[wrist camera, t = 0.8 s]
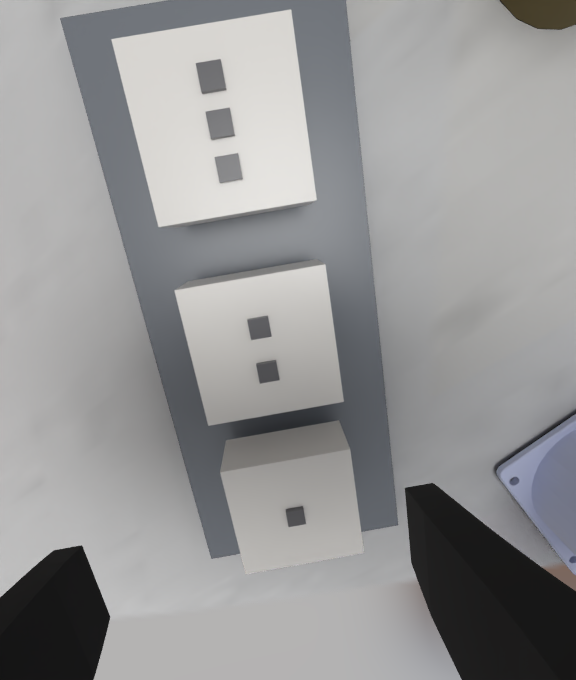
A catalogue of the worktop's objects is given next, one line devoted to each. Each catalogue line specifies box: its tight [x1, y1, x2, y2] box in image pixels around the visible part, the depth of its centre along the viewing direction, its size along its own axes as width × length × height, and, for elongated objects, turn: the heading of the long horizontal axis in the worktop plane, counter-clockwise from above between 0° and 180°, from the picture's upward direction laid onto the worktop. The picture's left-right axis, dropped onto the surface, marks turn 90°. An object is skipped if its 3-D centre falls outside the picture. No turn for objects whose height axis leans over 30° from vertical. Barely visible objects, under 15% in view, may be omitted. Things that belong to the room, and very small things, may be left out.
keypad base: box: [60, 0, 398, 559], centre depth 16 cm, size 24×10×2 cm, turn 9°
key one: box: [220, 420, 364, 575], centre depth 16 cm, size 5×5×2 cm
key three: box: [111, 9, 317, 228], centre depth 12 cm, size 5×5×2 cm
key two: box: [174, 259, 344, 426], centre depth 14 cm, size 5×5×2 cm
